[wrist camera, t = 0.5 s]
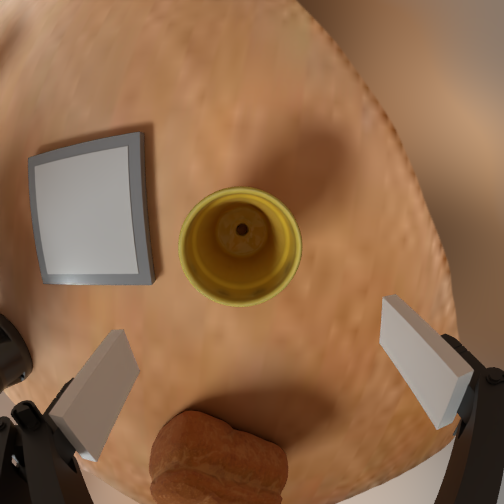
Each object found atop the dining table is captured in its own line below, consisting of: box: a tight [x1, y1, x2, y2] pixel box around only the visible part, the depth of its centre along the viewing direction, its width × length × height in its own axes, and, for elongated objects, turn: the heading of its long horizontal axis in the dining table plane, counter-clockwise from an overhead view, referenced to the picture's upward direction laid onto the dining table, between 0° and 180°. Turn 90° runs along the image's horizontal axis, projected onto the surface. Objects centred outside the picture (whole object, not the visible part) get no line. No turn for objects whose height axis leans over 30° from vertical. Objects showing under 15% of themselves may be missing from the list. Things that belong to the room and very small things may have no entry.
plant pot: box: [178, 186, 302, 307], centre depth 28 cm, size 10×10×10 cm
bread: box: [149, 411, 288, 504], centre depth 35 cm, size 18×21×17 cm
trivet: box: [28, 132, 155, 285], centre depth 31 cm, size 18×18×2 cm
